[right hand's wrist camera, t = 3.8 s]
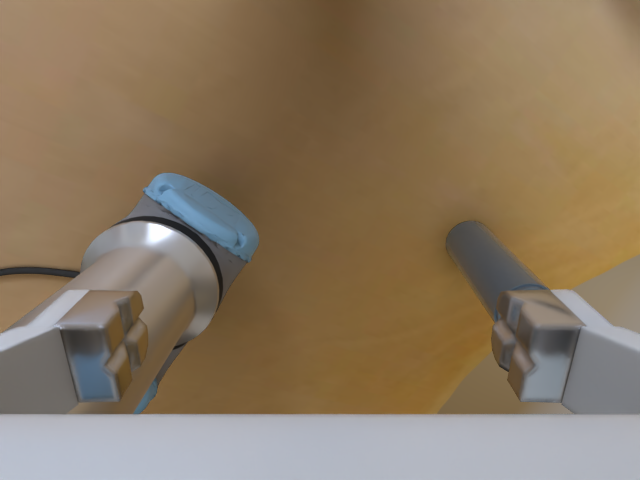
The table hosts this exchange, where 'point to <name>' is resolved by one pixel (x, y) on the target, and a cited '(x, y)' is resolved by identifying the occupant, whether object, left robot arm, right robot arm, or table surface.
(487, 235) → the bottle
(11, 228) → the table surface
